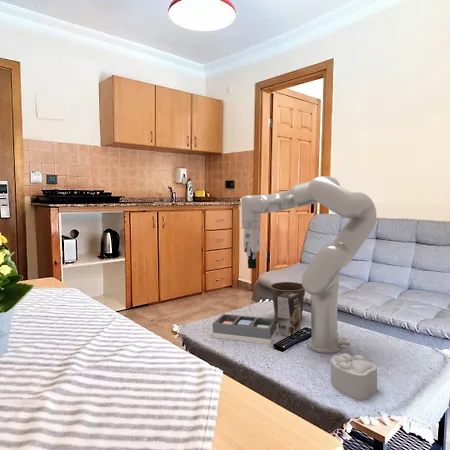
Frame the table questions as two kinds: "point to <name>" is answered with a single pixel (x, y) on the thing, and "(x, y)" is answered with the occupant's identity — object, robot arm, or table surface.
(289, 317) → the coffee box
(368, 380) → the lumpy-topped squat cylinder
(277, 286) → the plant pot
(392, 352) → the table surface
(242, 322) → the key slate
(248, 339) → the base
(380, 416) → the table surface
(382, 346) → the table surface
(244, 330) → the frame
